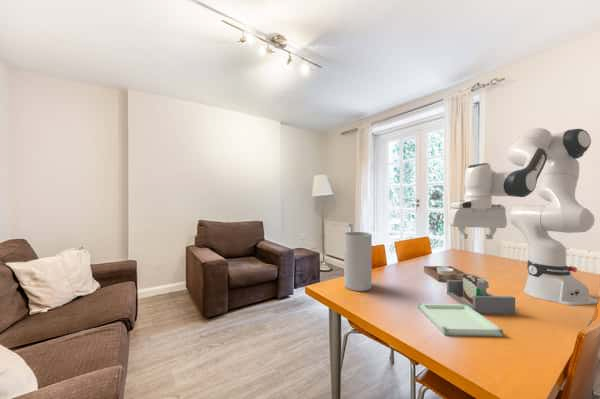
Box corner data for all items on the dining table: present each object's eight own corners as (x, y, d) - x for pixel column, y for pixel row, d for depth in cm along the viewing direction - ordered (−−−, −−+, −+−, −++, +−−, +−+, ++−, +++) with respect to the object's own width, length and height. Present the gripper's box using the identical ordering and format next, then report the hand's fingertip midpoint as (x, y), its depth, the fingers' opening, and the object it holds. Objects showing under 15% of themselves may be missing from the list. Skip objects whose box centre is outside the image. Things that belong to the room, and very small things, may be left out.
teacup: (451, 282, 117) (451, 273, 117) (430, 277, 125) (430, 268, 125) (459, 278, 123) (459, 269, 123) (439, 273, 131) (439, 265, 131)
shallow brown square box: (451, 272, 131) (451, 266, 131) (469, 282, 116) (469, 275, 116) (423, 272, 132) (424, 266, 132) (438, 281, 117) (438, 274, 117)
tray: (465, 309, 88) (465, 304, 88) (502, 336, 71) (502, 329, 71) (418, 308, 89) (418, 303, 89) (444, 335, 72) (444, 328, 72)
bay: (479, 294, 102) (480, 280, 102) (515, 314, 84) (515, 297, 84) (446, 294, 102) (446, 280, 102) (475, 313, 85) (475, 297, 85)
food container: (496, 311, 87) (496, 284, 87) (477, 309, 88) (477, 283, 88) (478, 297, 99) (478, 273, 99) (461, 296, 100) (461, 272, 100)
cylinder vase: (357, 280, 120) (357, 231, 119) (377, 288, 109) (377, 234, 109) (338, 285, 113) (338, 233, 113) (358, 294, 102) (358, 236, 102)
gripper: (499, 204, 96) (498, 238, 96) (446, 203, 98) (446, 236, 98) (511, 204, 90) (511, 240, 90) (455, 203, 91) (454, 239, 91)
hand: (476, 238), depth 94 cm, fingers open, 8 cm apart
